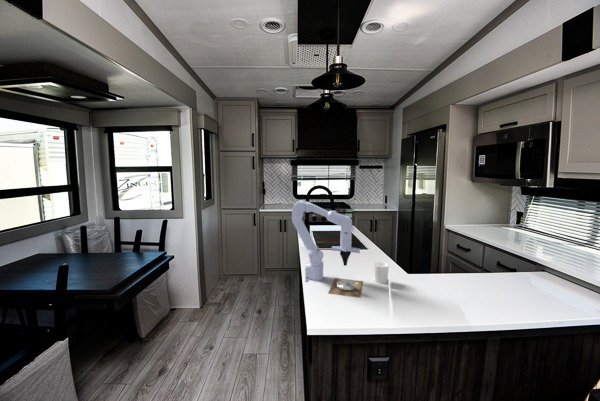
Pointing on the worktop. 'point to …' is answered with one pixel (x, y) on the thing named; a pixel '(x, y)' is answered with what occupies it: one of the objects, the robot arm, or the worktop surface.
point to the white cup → (380, 272)
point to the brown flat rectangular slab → (345, 293)
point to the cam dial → (348, 285)
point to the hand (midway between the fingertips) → (345, 264)
